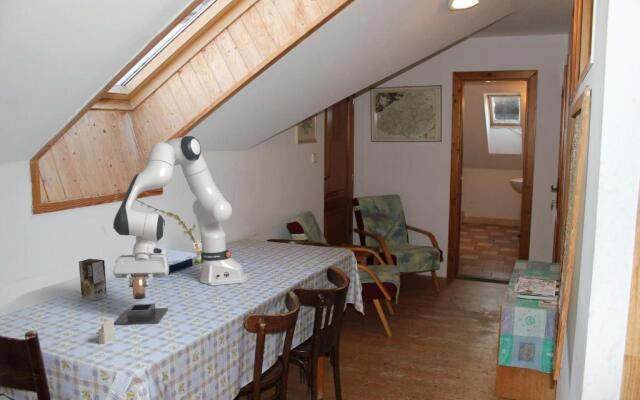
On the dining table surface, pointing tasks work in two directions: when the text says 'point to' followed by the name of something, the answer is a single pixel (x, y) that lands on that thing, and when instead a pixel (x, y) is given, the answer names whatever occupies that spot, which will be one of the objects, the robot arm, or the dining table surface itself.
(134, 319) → the duct collar
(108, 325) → the architectural model
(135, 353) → the dining table surface
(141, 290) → the copper pipe stub
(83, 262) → the coffee box
